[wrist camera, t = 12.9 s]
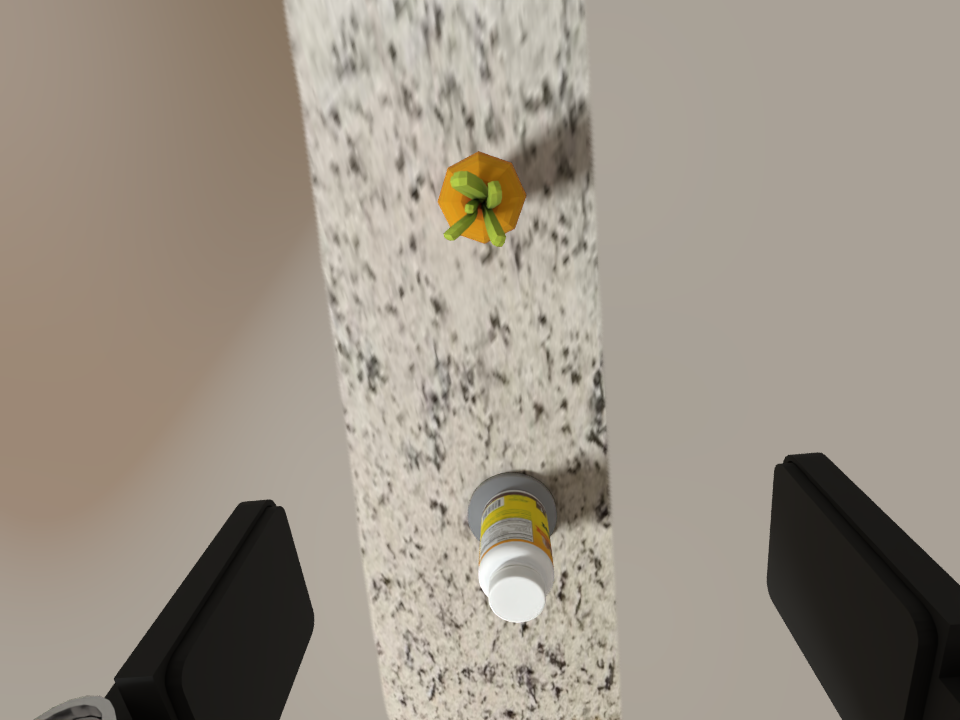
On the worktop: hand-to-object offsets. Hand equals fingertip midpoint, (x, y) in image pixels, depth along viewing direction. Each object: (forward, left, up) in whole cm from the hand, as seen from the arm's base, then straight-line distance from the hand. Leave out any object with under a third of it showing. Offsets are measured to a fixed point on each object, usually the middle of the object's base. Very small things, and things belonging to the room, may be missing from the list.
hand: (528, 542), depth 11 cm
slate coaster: (+22, -2, -34) cm, 40 cm away
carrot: (-5, -1, -34) cm, 35 cm away
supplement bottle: (+22, -2, -33) cm, 40 cm away
